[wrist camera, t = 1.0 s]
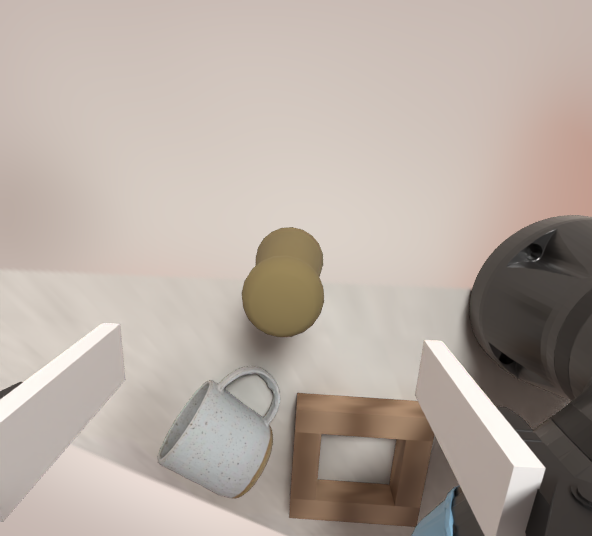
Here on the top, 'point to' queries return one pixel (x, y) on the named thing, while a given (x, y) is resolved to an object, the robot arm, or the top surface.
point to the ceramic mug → (221, 438)
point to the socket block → (355, 495)
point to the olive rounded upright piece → (285, 283)
